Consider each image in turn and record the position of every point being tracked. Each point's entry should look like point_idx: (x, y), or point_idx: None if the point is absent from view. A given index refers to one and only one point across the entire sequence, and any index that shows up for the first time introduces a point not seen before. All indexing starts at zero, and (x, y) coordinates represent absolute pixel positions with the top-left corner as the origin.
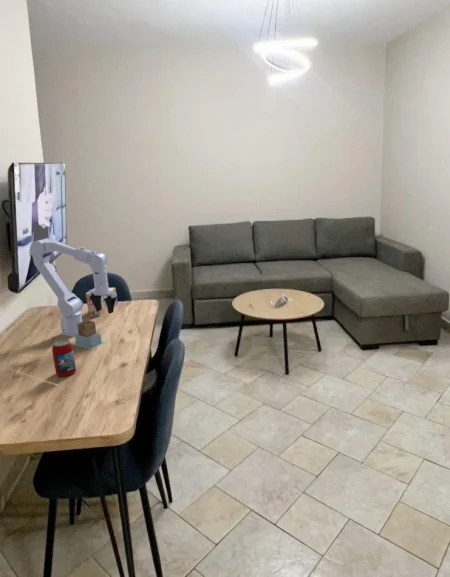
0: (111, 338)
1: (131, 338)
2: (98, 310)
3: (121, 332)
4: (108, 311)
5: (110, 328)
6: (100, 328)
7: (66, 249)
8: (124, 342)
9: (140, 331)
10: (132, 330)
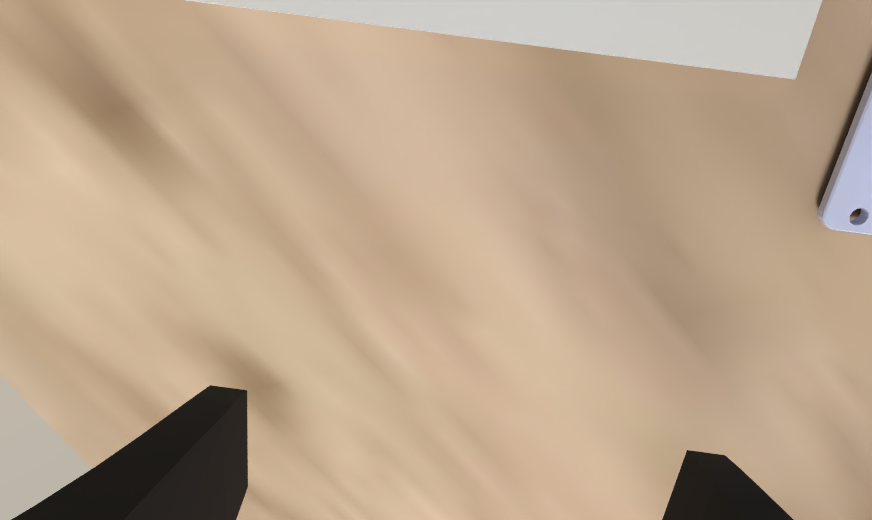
0: (302, 123)
1: (57, 207)
2: (680, 486)
3: (335, 335)
4: (202, 411)
5: (571, 405)
6: (710, 374)
7: None
8: (18, 57)
9: (146, 415)
10: (256, 417)
